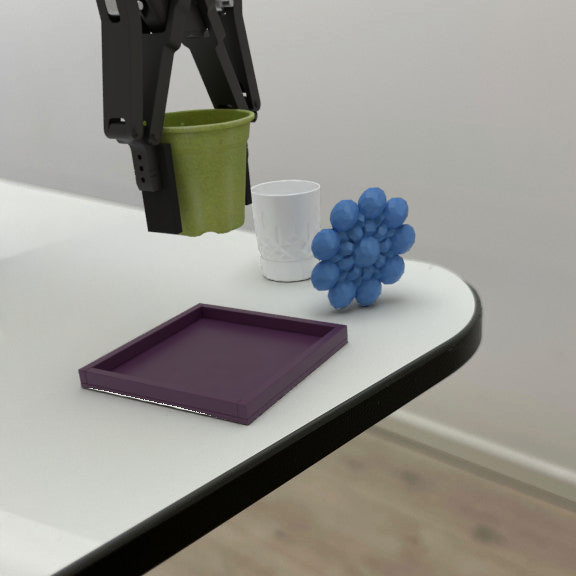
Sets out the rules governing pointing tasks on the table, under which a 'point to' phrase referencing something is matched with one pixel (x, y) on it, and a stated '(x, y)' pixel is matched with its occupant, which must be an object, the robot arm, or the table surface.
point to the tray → (217, 360)
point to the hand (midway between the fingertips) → (203, 216)
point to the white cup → (286, 227)
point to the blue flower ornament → (362, 248)
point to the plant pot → (209, 167)
